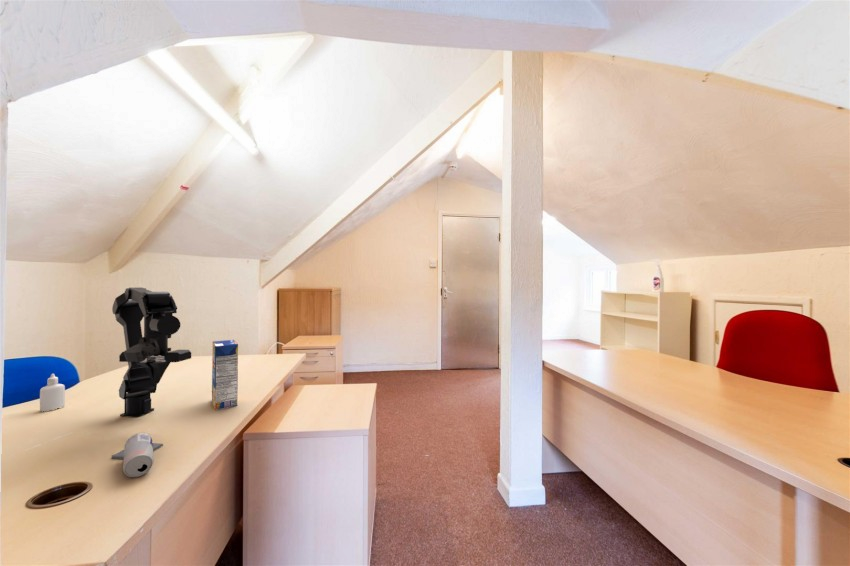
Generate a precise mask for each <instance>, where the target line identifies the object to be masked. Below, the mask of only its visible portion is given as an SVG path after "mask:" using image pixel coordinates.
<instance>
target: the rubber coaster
mask: <svg viewBox="0 0 850 566" xmlns="http://www.w3.org/2000/svg"><path fill="white" fill-rule="evenodd" d="M152 443H153V452H155V451H157V450H158V449H160V448H162V447H163V446H164V443H157V442H152ZM161 446H162V447H161ZM156 449H157V450H156ZM154 450H155V451H154ZM111 459H114V460H115V459H117V460H124V449H122V450H120V451H119V452H116V453H114V454H113V455H111Z"/></svg>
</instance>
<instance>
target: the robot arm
mask: <svg viewBox="0 0 850 566" xmlns="http://www.w3.org/2000/svg"><path fill="white" fill-rule="evenodd" d="M177 310H178V305H177V304H176V302H175V299H174V297H173V295H172V294H171V293H170V292H169V291H151V290H149V289H147V288H145V287H128V288H125V290H124V292H123V293H122V294H120V295H118V296H117V297H115V300H114V301H113V304H112V314H113V315H114V316H115V320H116V322H117V323H118V324H120V325H121V326H122V328H123V333H124V334H123V336H124V341H125V342H124V344H125V350H124V351H122V352H121V353H120V354H119V357H118V358H119V360H118V361H119V363H121V362H122V363H127V364H128V365H127V367H128V368H127V369H126V371H125V373H124V375H123V377H122V382H121V384H120V386H119V388H118V397H119V398H121V399H122V400H124V412H122V413H120V414H119V417H127V418H130V417H131V418H139V417H141V416H143V415H145V414H147V413H150V412H153V411H154V410H155V407H152V398H151V394H154V393H155V394H156V392H157V386H158V384H159V383H160V381H161V380H162V378H163V376H164V374H165V373H166V371H167V369H168V367H169V366H170V364H171V363H179V362H184V361H186V360H190V359H192V351H191V350H190V349H176V350H172V347H169V340H168V339H172V335H174V334H176V333H177V332H178V331H179V330H180V328H181V321H180V319H179V317H176V316H174V315H173V314H177V313H178V312H177ZM142 320H143V331H142V325H141V324H142V323H141V322H142Z"/></svg>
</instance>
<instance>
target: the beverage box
mask: <svg viewBox="0 0 850 566" xmlns="http://www.w3.org/2000/svg"><path fill="white" fill-rule="evenodd" d="M211 352H212V357H211V358H212V359H211V361H212V364H211V365H212V366H211V368H212V370H211V371H212V372H211V373H212V374H211V402H212V406H213V409H214V410H215V411H216V409H217V410H223V409H226V408H227V407H228V408H232V407H237V406H238V387H239V386H238V385H239V384H238V378H239V376H238V374H239V373H238V372H239V371H238V370H239V368H238V367H239V344H238V343H237V342H236V340H235V339H229V340H227V339H226V340H225V339H224V340H216V341H215V340H213V341H212V351H211ZM222 408H223V409H222ZM228 408H227V409H228Z"/></svg>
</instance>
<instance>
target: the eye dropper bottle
mask: <svg viewBox="0 0 850 566" xmlns="http://www.w3.org/2000/svg"><path fill="white" fill-rule="evenodd" d="M46 382H47V384H46V385H45V386H43V387H41V388H40V390H39V411H40V412H43V411H47V412H50V411H49V410H52V411H54V410H53V409H56V408H60V407H63V406H64V407H65V405H66V386H65V384H62V383H59V377H58V376H56V375H55V373H51V374H50V377H48V378H47V381H46ZM64 407H63V408H64ZM60 409H61V408H60ZM56 410H57V409H56ZM43 413H44V412H43Z"/></svg>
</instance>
